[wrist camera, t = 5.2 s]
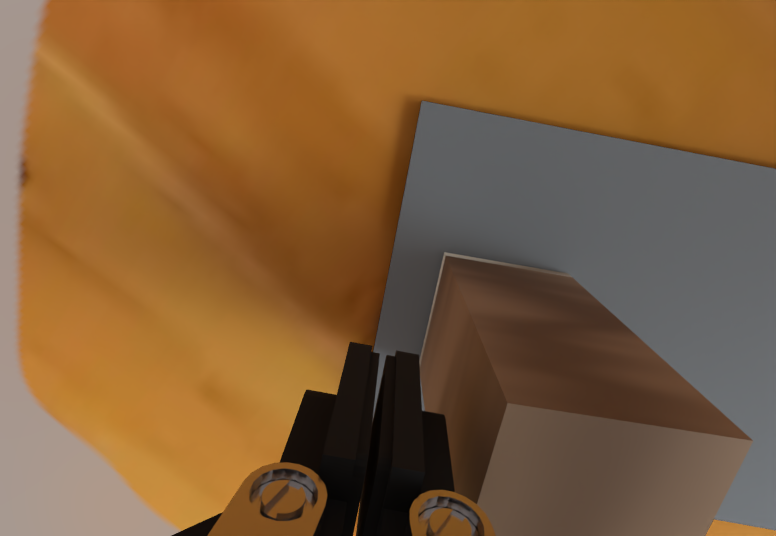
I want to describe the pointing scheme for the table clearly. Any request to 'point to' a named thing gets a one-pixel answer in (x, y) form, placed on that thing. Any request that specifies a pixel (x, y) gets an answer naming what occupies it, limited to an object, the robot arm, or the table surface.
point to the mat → (607, 254)
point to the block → (567, 411)
